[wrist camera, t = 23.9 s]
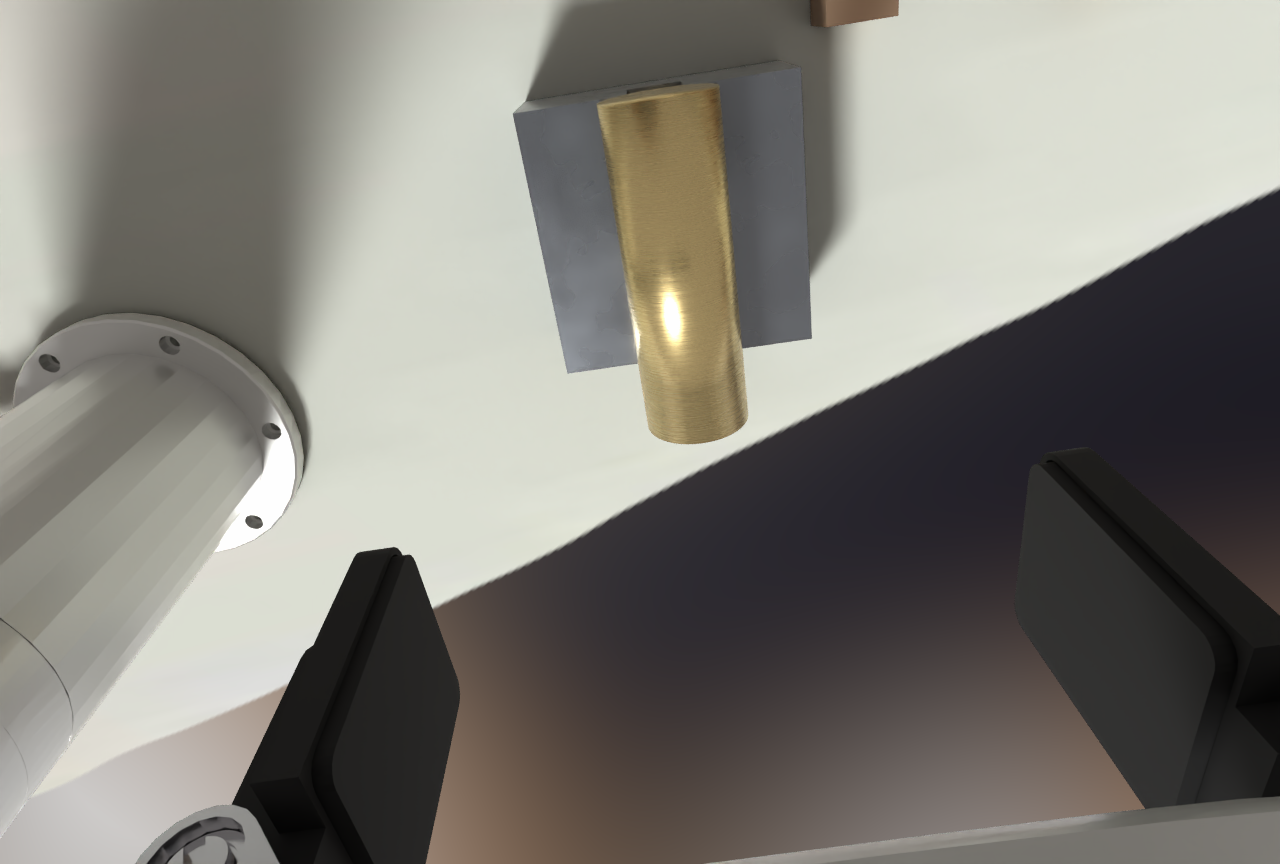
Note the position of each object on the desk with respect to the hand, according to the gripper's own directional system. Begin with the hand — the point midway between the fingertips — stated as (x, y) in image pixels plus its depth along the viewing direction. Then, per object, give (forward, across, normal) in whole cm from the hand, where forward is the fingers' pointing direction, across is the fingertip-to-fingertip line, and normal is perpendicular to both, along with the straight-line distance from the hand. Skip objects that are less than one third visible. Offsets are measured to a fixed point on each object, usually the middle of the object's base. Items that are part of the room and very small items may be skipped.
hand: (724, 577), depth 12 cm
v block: (+24, -1, 0) cm, 24 cm away
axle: (+18, -1, +1) cm, 18 cm away
